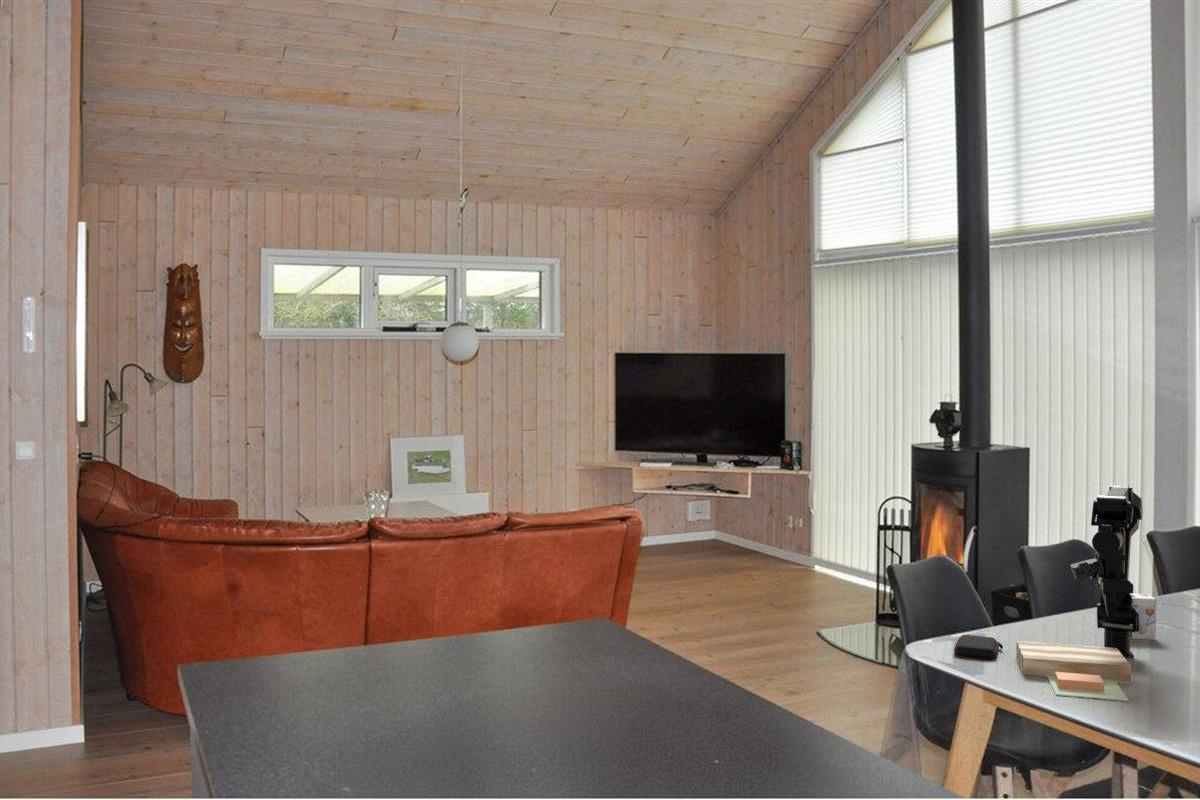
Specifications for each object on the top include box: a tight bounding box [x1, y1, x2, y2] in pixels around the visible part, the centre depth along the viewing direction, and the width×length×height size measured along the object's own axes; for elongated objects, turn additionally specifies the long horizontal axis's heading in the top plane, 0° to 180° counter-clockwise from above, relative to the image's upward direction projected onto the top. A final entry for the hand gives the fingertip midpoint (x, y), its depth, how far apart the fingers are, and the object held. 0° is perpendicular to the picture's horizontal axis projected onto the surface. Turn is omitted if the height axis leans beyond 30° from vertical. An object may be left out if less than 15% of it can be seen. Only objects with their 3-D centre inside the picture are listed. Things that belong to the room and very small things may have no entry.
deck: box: [1015, 640, 1132, 685], centre depth 236 cm, size 16×22×4 cm
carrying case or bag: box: [953, 634, 1004, 661], centre depth 252 cm, size 11×3×15 cm
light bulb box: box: [1130, 593, 1158, 640], centre depth 269 cm, size 11×7×11 cm, turn 80°
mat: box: [1046, 676, 1130, 703], centre depth 222 cm, size 14×14×1 cm
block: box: [1055, 672, 1104, 692], centre depth 223 cm, size 6×9×2 cm, turn 72°
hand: (1110, 616), depth 238 cm, fingers closed
